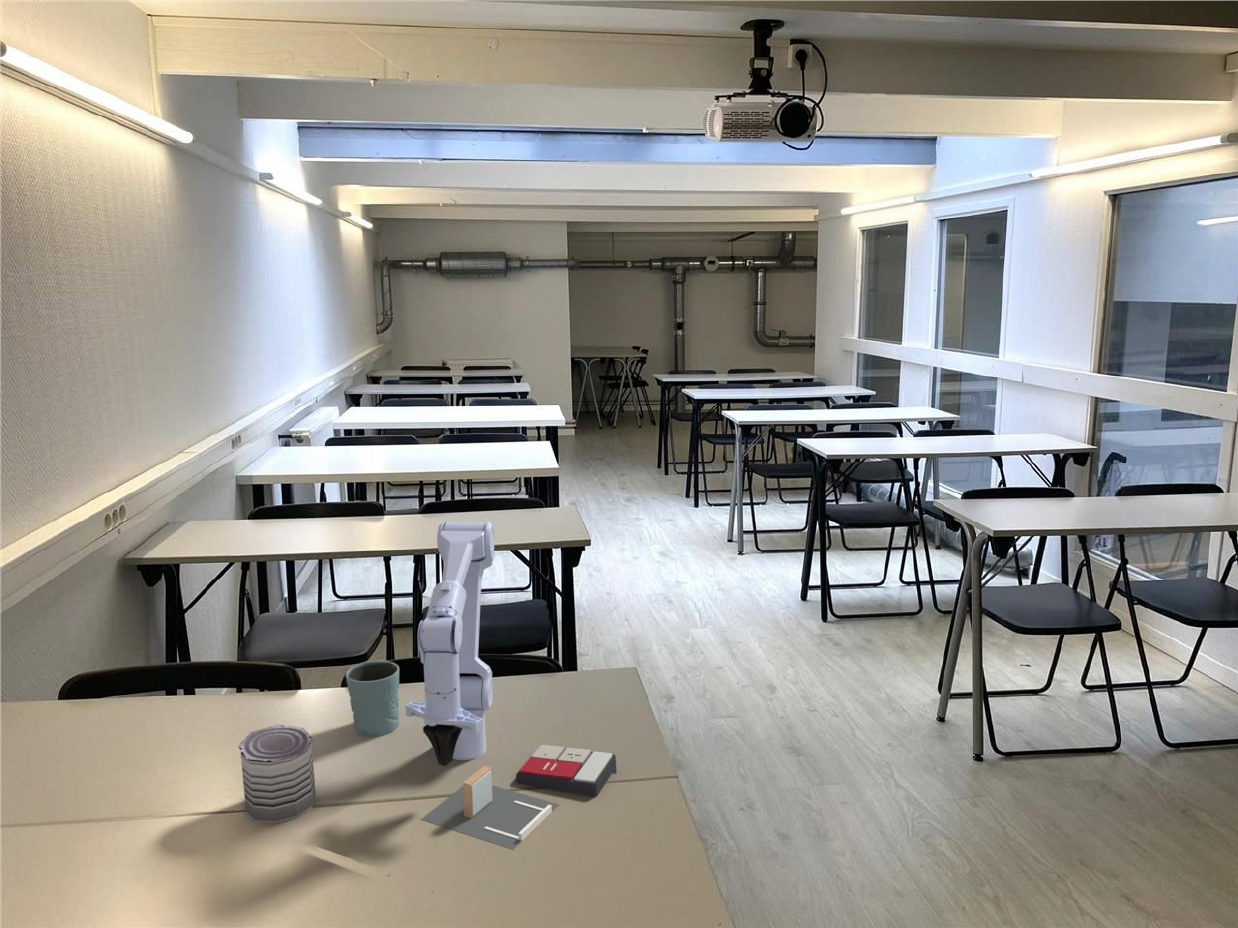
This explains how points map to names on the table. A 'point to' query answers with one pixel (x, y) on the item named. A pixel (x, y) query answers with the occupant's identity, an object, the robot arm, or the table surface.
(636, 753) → the table surface
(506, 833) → the mat
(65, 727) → the table surface
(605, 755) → the calculator
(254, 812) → the can
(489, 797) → the tile
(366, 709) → the green cup
